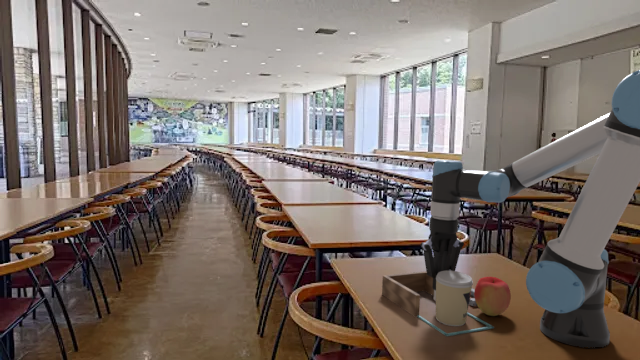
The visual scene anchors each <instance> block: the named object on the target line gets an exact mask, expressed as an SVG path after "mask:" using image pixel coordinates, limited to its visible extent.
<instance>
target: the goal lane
mask: <svg viewBox="0 0 640 360" xmlns="http://www.w3.org/2000/svg"><path fill="white" fill-rule="evenodd" d="M467 316H469V317H471V318H472V319H474V320H476V321H477V322H480V323H481V324H482V325H485V326H483V327H482V326H481V327H478V328H472V329H466V330H465V329H464V330H460V331H453V332H448V333H447V332H445V331H444V330H442V329H441V328H439V327H438V326H436V325H435V324H434V323H432V322H430V321H428V320H427V319H426V318H425V317H423V316H421V315H420V314H419V315H417V317H416V318H418V319H420V320H421V321H423V322H424V323H426V324H427V325H429V326H430V327H432V328H433V329H435V330H436V331H438V332H439V333H440V334H442V335H444V336H445V337H451V336H452V337H453V336H456V335H463V334H468V333H473V332H479V331H486V330H491V329H495V326H493V325H492V324H490V323H488V322H486V321H484V320H482V319H481V318H479V317H477V316H475V315H473V314H472V313H470V312H467Z"/></svg>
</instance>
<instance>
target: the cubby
mask: <svg viewBox="0 0 640 360" xmlns="http://www.w3.org/2000/svg"><path fill="white" fill-rule="evenodd" d="M381 284H382V286H381V287H382V288H381V295H382V296H383V297H384V298H387V299H388V300H389V301H391V302H392V303H394V304H395V305H397V306H398V307H400V308H401V309H402V310H404V311H405V312H407V313H409V314H410V315H411V316H413V317H414V318H418V317H417V315H420V305H421V294H419V292H426V293H427V294H429V295H431V296H433V297H434V289H433V288H432V286H433V278H432V277H430V276H428V275H427V272H426V270H423V271H414V272H405V273H394V274H385V275H382V282H381Z"/></svg>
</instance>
